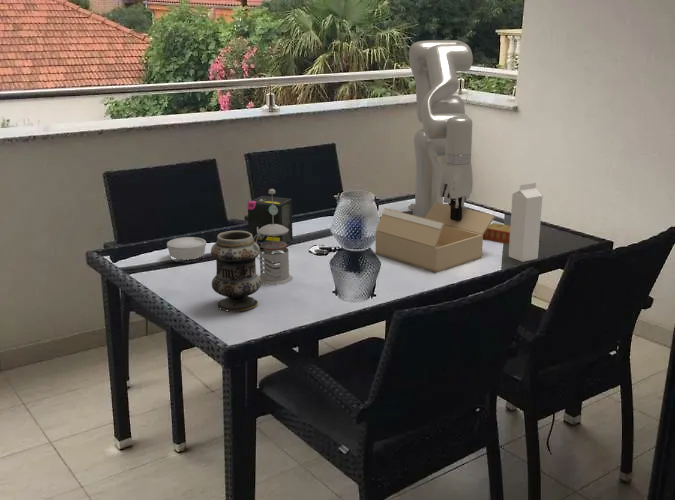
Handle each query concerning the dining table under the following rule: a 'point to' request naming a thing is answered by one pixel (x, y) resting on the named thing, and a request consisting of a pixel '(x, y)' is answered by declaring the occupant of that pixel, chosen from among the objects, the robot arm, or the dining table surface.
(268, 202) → the tampon box
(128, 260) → the dining table surface
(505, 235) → the carton
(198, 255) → the ramekin
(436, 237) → the near flap
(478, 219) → the far flap
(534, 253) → the milk
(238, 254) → the apothecary jar
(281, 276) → the french press
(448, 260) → the kraft box
